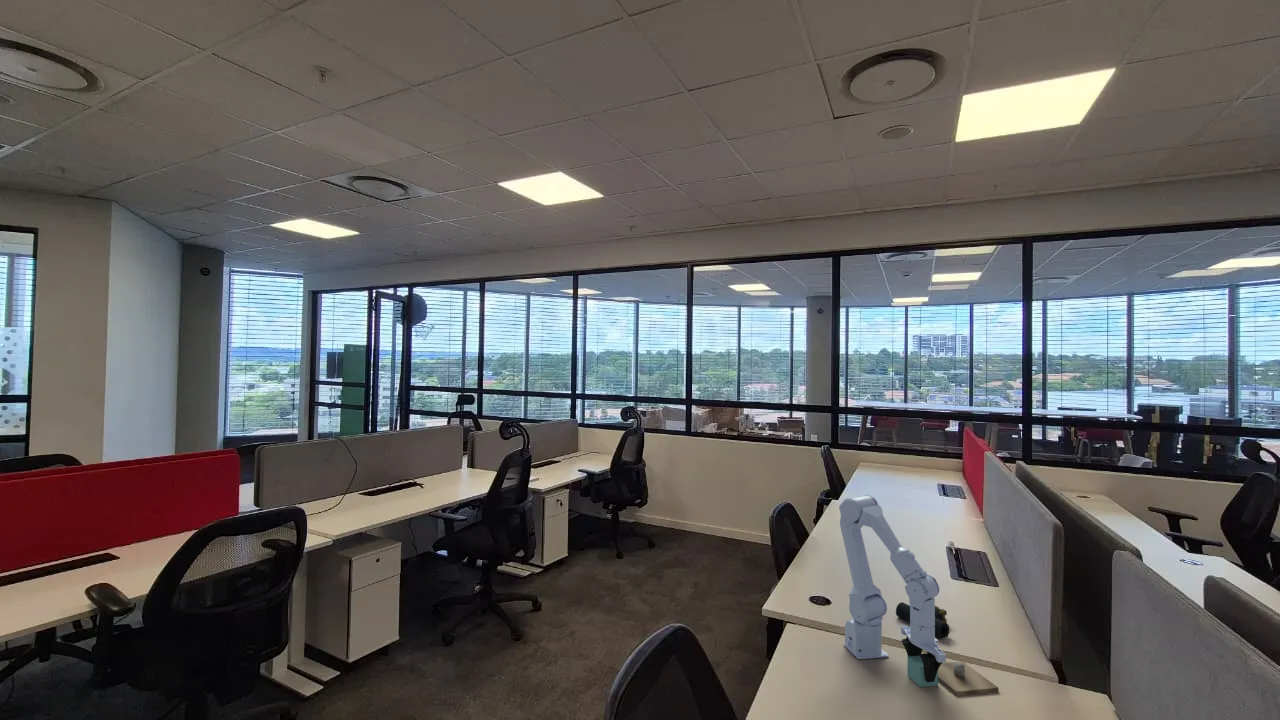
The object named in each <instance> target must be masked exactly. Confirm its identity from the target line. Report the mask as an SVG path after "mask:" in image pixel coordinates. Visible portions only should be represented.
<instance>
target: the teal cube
mask: <svg viewBox="0 0 1280 720" xmlns="http://www.w3.org/2000/svg"><path fill="white" fill-rule="evenodd" d="M906 666H907V677H909V678H910V679H911V680H912V681H913V682H914V683H915V684H917V686H919V687H920V688H922V687H934V686H936V687H937V686H939V681H938V671H937V674H936V677H935V681H934V682H926V680H925V676H924V666H923V662H922V659H921V657H920V656H908V655H907V665H906Z"/></svg>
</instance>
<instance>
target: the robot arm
mask: <svg viewBox="0 0 1280 720" xmlns="http://www.w3.org/2000/svg"><path fill="white" fill-rule="evenodd" d="M838 507H839V512H840V520H839V526H840V531H841V536H842V541H843V545H844V548H845V553H846V554H845V555H846V558H847V562H848V567H849V572H850V576H851V579H852V585H853V587H852V588H851V590H850V592H849V594H848V598H849V604H848V610H849V614H850V615H851V617H852V618H851V619H850V620H846V622H845V624H844V643H843V646H844V647H845V648H846V649H847V650H848V651H849V652H850V653H851V655H854V657H855V658H856V659H858V660H867V659H879V658H888V657H889V654H888V653H887V652H885V650H883V649H882V648H883V647H882V646H883V645H882V639H883V638H882V636H883V635H882V631H883V630H882V629H883V628H882V626H883V624H882V622H883V618H884V616H885V615H886V614H887V612H888V605H887V603H886V601H885V600H886V599H884V597H883V595H882V591H881V589H880V588H879V587H878V586H876V585H875V584H874V581H873V577H872V573H871V569H870V565H869V559H868V556H867V551H866V547H865V543H864V538H863V534H862V527H863V526H864V527H869V528H871V529H872V530H873V532H874V533H875V534H876V536H877V537H878V539H880V540H881V542H882V543H883V545H884V546H885V547H886V549H887V551H889V553H890V555H889V560H890V562H891V563H892V565H893V566H894V568H895V569H896V570H897V572H898V573H899V575H900V577H901V578H902V579H903V581H904V583H905V584H906V585H905V586H904V589H905V593H906V595H907V596H908V598H909V606H910V623H909V626H908V625H902V626H900V633H901V635H903V636H906V637H905V638H902V639H901V644H902V645H903V647H904V650H905V652H906V655H907V657H908V656H920V657H921V659H922V662H923V666H924V676H925V680H926V682H934V681H935V677H936V674H937V671H938V669H939V667H940V665H941V664H942V663H946V662H947V655H946V653H945V652H944V651H943V650H942V649H941V648H940V646H939V645H938V644H939V639H937V637H936V636H935V606H936V605H935V601H936V598H935V597H937V596H938V595H939V593H940V586H939V583H938V582H937V579H936V578H935V577H934V576H932V574H929V573H927V572H926V571H925V570H924V569H923V568H922V567H921V565H920V564H919V562H918V560H917V559H916V555H915V554H914V553H913V552H911V550H910V549H908V548H905V547H903V546H902V545H901V543H900V542H899V540H898V538H897V537H896V535H895V533H894V531H893V530H892V528H891V526H890V525H889V523H888V521H887V520H886V518H885V517H884V513H883V512H884V511H883V507H882V506H881V505H880V504H879V503H878V501H877V499H876V498H875V497H874V496H872V495H870V494H865V495H861V496H858V497H852V498H851V497H849V498H845V499H843V501H842V502H841V504H839V505H838ZM923 651H926V653H922V652H923Z"/></svg>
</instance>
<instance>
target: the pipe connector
mask: <svg viewBox="0 0 1280 720" xmlns="http://www.w3.org/2000/svg"><path fill="white" fill-rule="evenodd" d="M947 613H948V612H947V610H945V609H944V608H940V607H939V606H937V605H935V638H938V639H939V640H943V639H942V638H944V639H946V638H945V637H947V638H948V637H949V636H950V635H949V634H950V625H949V624H948V620H947V618H946V616H947ZM895 614H896V616H898V617H897V618H899V617H900V618H899V619H901V618H902V619H901V620H903V621H905V622H907V623H909V624H910V604H908V603H905V602H899V603H898V604H897V605H896V609H895Z"/></svg>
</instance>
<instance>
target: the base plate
mask: <svg viewBox="0 0 1280 720" xmlns="http://www.w3.org/2000/svg"><path fill="white" fill-rule="evenodd" d="M938 683H940V684H941V685H943V686H944V687H945V688H946V689H948V691H950V692H951V693H952V694H953V695H955V696H957V697H959V696H966V695H967V696H969V695H977V694H986V693H987V694H988V693H998V692H999V687H998V686H997V685H996V684H994V683H993V682H991V681H990V680H988V679H987V678H986V677H985V676H983V675H982V674H981V673H979V672H978V671H977V670H975V669H974V668H972V667H971V666H969V665H968V664H967V663H965V662H964V661H963V660H959V661H957V660H956V661H949V662H947V661H946V662H943V663H942V664H941V665H940V667H939V669H938Z"/></svg>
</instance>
